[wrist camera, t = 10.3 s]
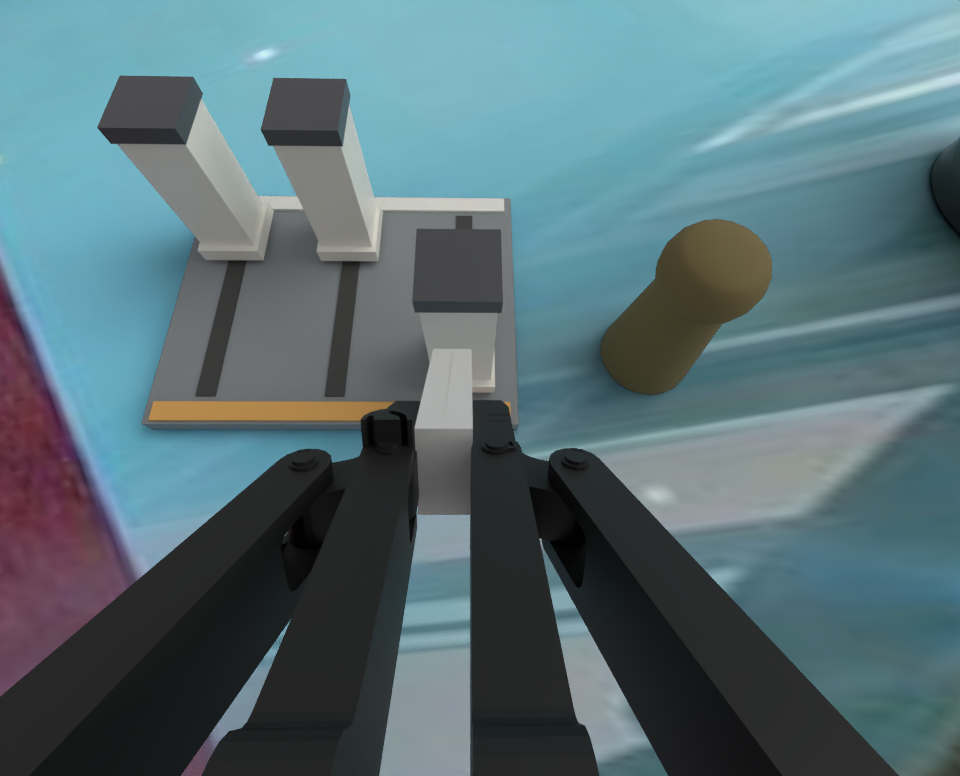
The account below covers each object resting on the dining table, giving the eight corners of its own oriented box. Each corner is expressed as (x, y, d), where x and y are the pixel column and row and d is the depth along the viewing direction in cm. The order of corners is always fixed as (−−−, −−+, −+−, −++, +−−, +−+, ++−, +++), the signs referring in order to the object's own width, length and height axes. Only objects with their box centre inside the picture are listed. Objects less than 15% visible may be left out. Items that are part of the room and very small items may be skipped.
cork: (703, 382, 30) (822, 288, 20) (620, 404, 29) (699, 319, 19) (666, 307, 32) (756, 188, 22) (587, 326, 31) (643, 212, 21)
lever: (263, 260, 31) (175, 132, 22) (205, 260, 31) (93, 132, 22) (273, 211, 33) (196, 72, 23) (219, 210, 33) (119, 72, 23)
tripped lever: (494, 392, 28) (505, 307, 19) (430, 392, 28) (409, 307, 18) (493, 330, 29) (503, 224, 20) (432, 330, 29) (414, 223, 20)
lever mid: (378, 261, 31) (339, 134, 22) (320, 260, 31) (257, 134, 22) (383, 212, 33) (348, 75, 24) (328, 211, 33) (272, 74, 24)
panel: (517, 429, 29) (519, 423, 27) (154, 429, 28) (139, 423, 27) (509, 210, 35) (510, 196, 34) (215, 207, 35) (205, 193, 33)
